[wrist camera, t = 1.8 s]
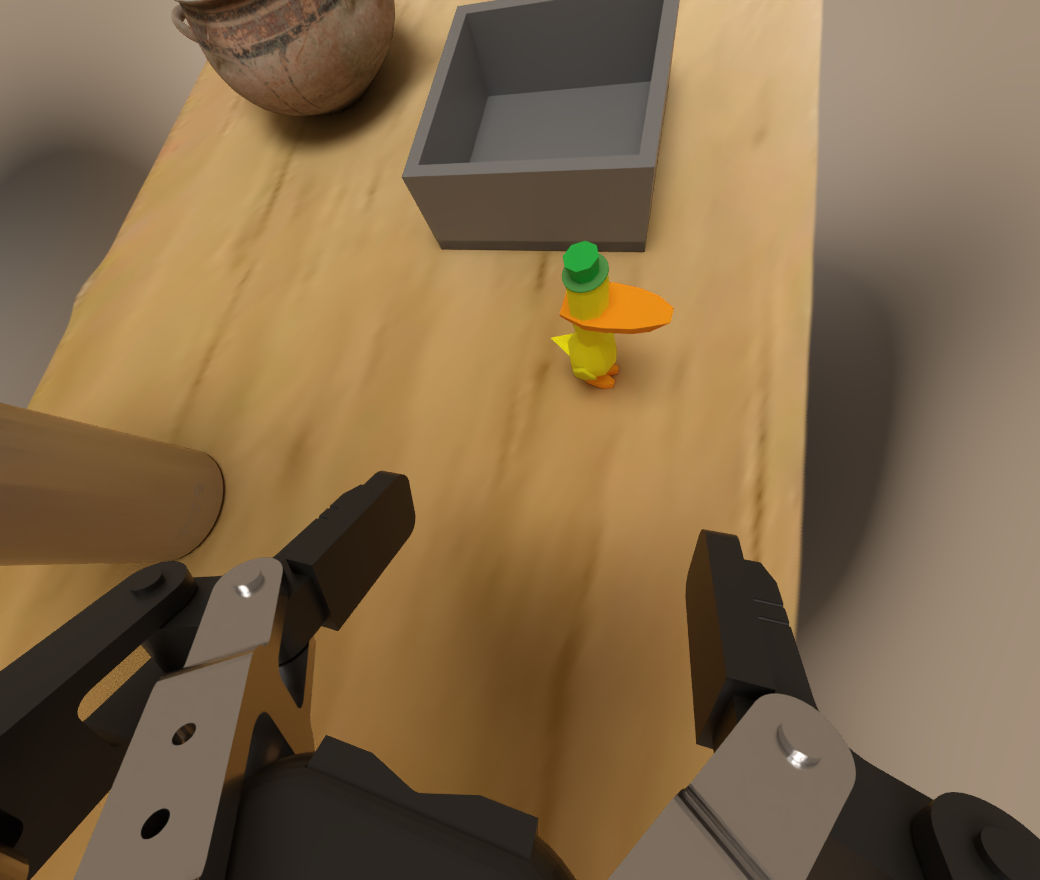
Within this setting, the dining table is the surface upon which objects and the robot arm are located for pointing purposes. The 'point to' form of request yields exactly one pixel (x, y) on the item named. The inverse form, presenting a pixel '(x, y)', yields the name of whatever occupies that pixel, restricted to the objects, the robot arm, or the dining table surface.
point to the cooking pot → (292, 48)
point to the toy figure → (602, 314)
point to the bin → (545, 125)
